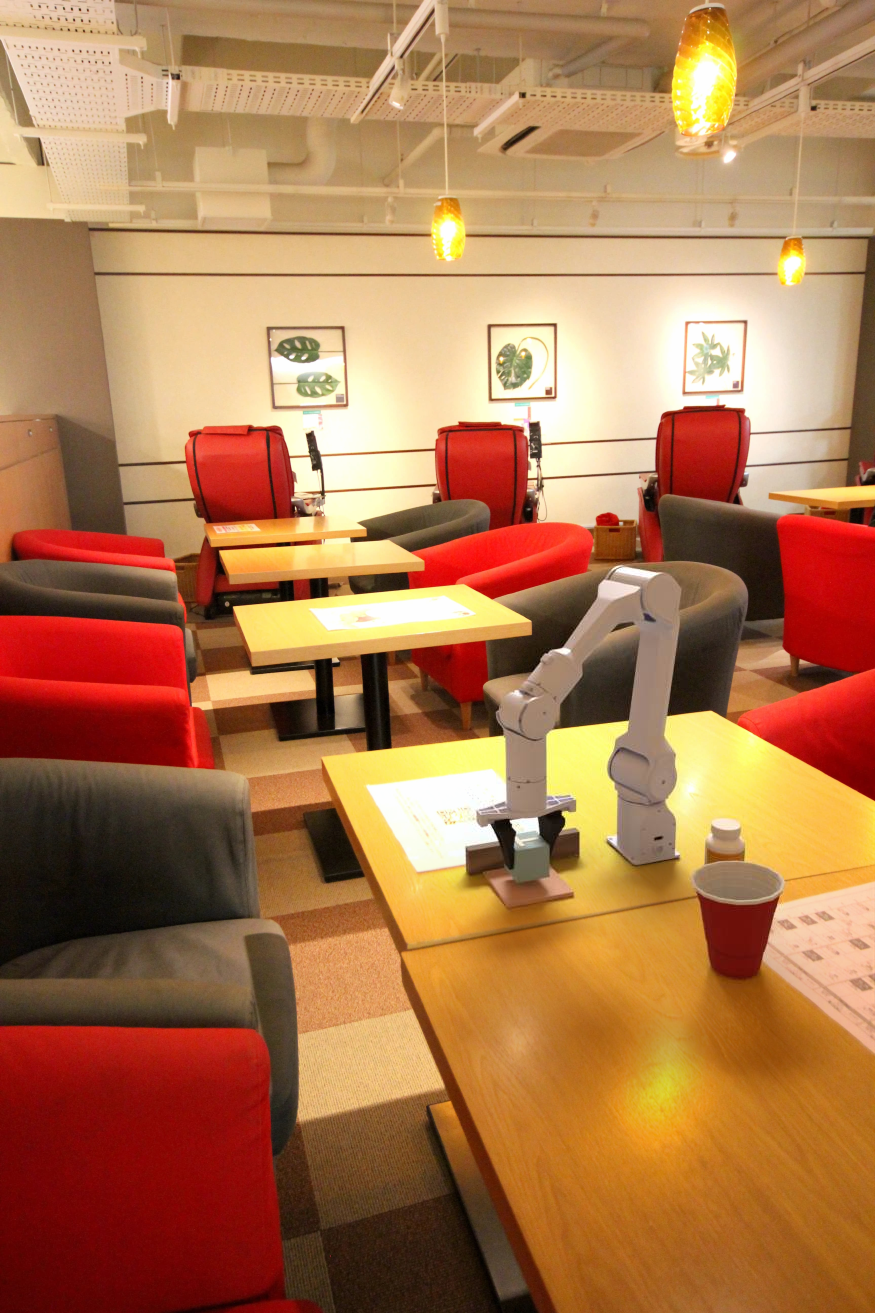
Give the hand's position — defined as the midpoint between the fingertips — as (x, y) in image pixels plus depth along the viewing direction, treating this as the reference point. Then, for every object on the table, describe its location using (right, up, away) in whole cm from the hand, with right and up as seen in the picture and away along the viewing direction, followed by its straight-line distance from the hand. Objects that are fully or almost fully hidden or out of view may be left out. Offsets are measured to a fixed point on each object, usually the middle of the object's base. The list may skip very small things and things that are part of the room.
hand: (527, 863), depth 131 cm
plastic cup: (+23, -8, -20) cm, 32 cm away
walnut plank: (0, -2, +7) cm, 8 cm away
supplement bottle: (+28, -3, -1) cm, 28 cm away
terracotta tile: (0, -3, +1) cm, 3 cm away
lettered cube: (0, -1, +1) cm, 2 cm away
